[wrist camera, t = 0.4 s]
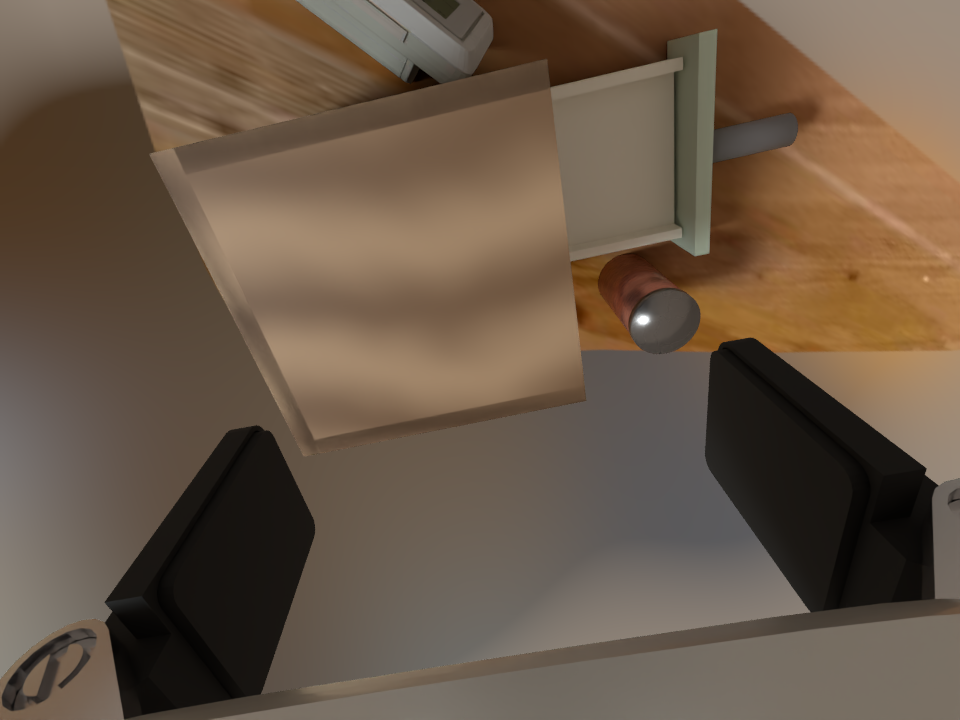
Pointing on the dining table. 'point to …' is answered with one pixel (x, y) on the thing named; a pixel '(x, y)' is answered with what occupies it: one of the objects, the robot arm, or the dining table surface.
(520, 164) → the drawer cabinet
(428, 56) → the digital clock
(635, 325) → the tea tin
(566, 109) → the green drawer
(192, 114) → the dining table surface
